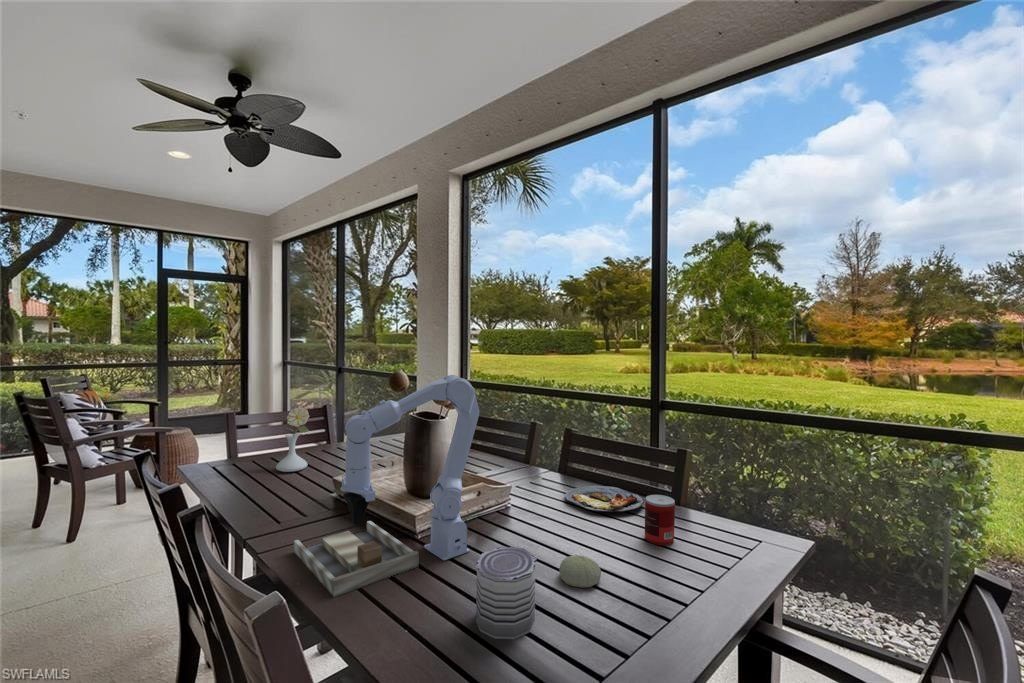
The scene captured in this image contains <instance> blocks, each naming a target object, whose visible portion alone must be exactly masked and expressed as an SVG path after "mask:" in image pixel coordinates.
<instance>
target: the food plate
mask: <svg viewBox="0 0 1024 683" xmlns="http://www.w3.org/2000/svg"><path fill="white" fill-rule="evenodd" d="M565 498H566V501H569V502H571V503H573V504H575V505H577V506H580V507H583V509H587V510H591V511H593V512H599V513H602V512H603V513H624V512H628V511H633V510H637V509H640V508H641V507H642V506H643V504H645V500H643V498H642V497H641V496H639V494H637V493H634V492H632V491H628V490H625V489H622V488H620V487H615V486H608V485H607V486H603V485H601V486H600V485H583V486H578V487H575V488H570V490H569V491H567V492H566V493H565Z"/></svg>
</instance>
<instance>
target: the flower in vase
mask: <svg viewBox="0 0 1024 683" xmlns="http://www.w3.org/2000/svg"><path fill="white" fill-rule="evenodd" d="M309 414H310V413H309V410H308V409H306V408H304V407H300V406H299V407H297V408H296V407H294V409H291V410H290V412H288V415H286V420H287V423H288V425H289V426H292V427H293V426H294V427H295V428H297V429H296V430H295V431H294V430H293V429H291V428H288V427H286V426H285V428H286V429H287V430H290V431H292V432H294V433H289V434H285V435H284V436H285V438H286V440H287V442H288V452H287V455H286V456H285V457H283V458H282V459H281V460H280V461H279V462H278V463H277V464H276V466H275V469H276V470H277V471H279V472H284V473H287V472H288V473H291V472H298V471H301V470H304V469H305V468H306V467H307V466H308V462H307V461H306V460H305V459H304V458H303V457H301V456H299V455H298V454H297V453H296V444H297V443H296V442H297V439H298V438H299V436H300V434H298V433H297V431H298V432H300V433H301V434H302V433H303V434H304V433H307V432H309V431H310V430H309V429H308V428H307V427H306V426H305V425H306V423H307V421H309V418H310V415H309Z"/></svg>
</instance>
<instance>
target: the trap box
mask: <svg viewBox="0 0 1024 683" xmlns="http://www.w3.org/2000/svg"><path fill="white" fill-rule="evenodd" d="M372 541H375V542H376V543H377V544H379V545H380V546H381V547H382V562H381V563H378V564H375V565H372V566H369V567H366V568H362V567H361V566H360V565H359V564H358V563H357V550H358V546H359V545H362V544H366V543H369V542H372ZM293 553H294V554H295V556H296V555H297V556H298V557H299V558H300V559H301V560H300V559H299V558H298V557H297V556H296V557H297V558H298V559H299V560H300V561H301V562H302V564H304V566H305V565H306V566H305V567H306V568H307V569H308V570H309V572H311V574H314V575H313V576H314V577H315V578H316V579H317V581H318V582H319V583H320V584H321V583H322V584H321V585H322V586H323V587H324V588H325V589H326V590H327V591H328V593H330V595H331V596H332V598H335V597H339V596H341V595H344V594H347V593H350V592H353V591H355V589H356V590H358V589H361V588H364V587H367V586H369V585H368V584H370V585H372V584H375V583H377V581H378V582H380V580H381V581H384V580H387V579H389V578H392V577H394V576H393V575H395V576H397V575H396V574H398V575H400V574H399V573H401V572H403V573H406V572H408V570H409V571H411V570H410V569H412V570H414V569H413V568H415V569H417V568H419V563H420V562H419V561H420V560H419V557H420V556H419V555H420V554H419V551H417V550H415V551H414V550H413V549H412V548H410V547H409V546H407V545H406V544H404V542H402V541H400V540H399V539H397V538H396V537H394V536H393V535H391V533H389V532H387V531H386V530H384V529H383V528H382V527H380V526H379V525H377V524H375V523H374V522H373V521H372V520H367V521H366V531H362V532H358V533H357V532H356V533H355V534H353V533H352V532H351V531H349V530H345V531H344V532H339V533H335V534H331V535H329V536H328V535H327V536H324V537H321V543H318V544H314V545H311V546H308V547H306V545H304V544H303V543H302V542H301V541H300V540H299V539H295V540H293ZM416 567H417V568H416ZM405 571H406V572H405ZM401 574H402V573H401ZM391 576H392V577H391ZM383 579H384V580H383ZM374 582H375V583H374ZM371 583H372V584H371ZM366 585H367V586H366ZM363 586H364V587H363Z"/></svg>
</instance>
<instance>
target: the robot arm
mask: <svg viewBox="0 0 1024 683" xmlns="http://www.w3.org/2000/svg"><path fill="white" fill-rule="evenodd" d="M447 400H448V401H449V403H451V404H452V406H453V407H454V409H455V411H456V412H457V414H458V415H457V419H456V423H455V426H454V430H453V433H452V436H451V442H450V444H449V448H448V452H447V456H446V457H445V458H446V459H445V463H444V466H443V470H442V473H441V474H440V476H439V477H438V478H437V482H436V484H435V485H434V486H433V488H432V489H431V491H430V492H431V493H430V500H431V502H432V503H433V504H434V508H433V510H432V511H431V512H430V543H428V544H427V543H426V544H423V548H424V549H425V550H427V551H428V552H430V553H431V554H433V555H434V556H436V557H438V558H439V559H440V560H442V561H446V560H447V561H448V560H450V559H452V558H455V557H457V556H461V555H464V554H466V553H469V552H470V548H468V526H467V524H466V523H465V522H464V521H463V519H462V518H461V515H460V514H461V513H460V512H461V510H462V507H463V502H462V494H463V485H462V484H463V483H462V479H463V475H464V472H465V468H466V464H467V462H468V456H469V453H470V450H471V446H472V443H473V439H474V435H475V431H476V428H477V425H478V420H479V417H480V408H479V404H478V401H477V396H476V389H475V388H474V387H473V386H472V384H471V382H470V381H469V380H467V379H466V378H463V377H459V376H457V375H454V374H450V375H447V376H445V377H444V378H439V379H436V380H435V381H432V382H431V383H428V384H427V385H425V386H423V387H422V388H419V389H418V390H416V391H414V392H411V394H409V395H407V396H405V397H403V398H401V399H399V400H397V401H395V400H392V399H388V400H387V401H386V400H385V399H382V400H380V401H379V404H378V405H376V406H373V407H372V408H370V409H368V410H361V412H360V414H356V415H352V416H351V417H349V419H348V420H347V421H346V424H345V426H344V430H345V434H346V442H345V443H346V444H345V445H346V448H345V475H344V476H345V477H342V479H341V487H339V488H340V491H342V492H343V495H342V496H343V498H344V500H345V502H346V504H347V507H348V510H349V513H350V514H349V515H350V519H351V520H350V521H351V522H352V524H353V525H355V526H356V525H360V524H363V523H364V519H365V515H366V512H367V508H368V507H369V504H370V502H373V501H376V491H375V490H374V488H373V485H372V483H371V476H372V475H371V474H372V473H371V472H372V471H371V470H372V468H371V465H372V461H371V460H372V458H371V457H372V456H371V455H372V446H371V437H372V435H373V434H376V433H379V432H380V431H382V430H385V429H386V428H388V427H391V426H392V425H394V424H396V423H398V422H399V421H401V420H402V417H403V415H404V414H406V413H407V412H409V411H411V410H413V409H415V408H417V407H420V406H422V405H424V404H427V403H429V402H431V401H442V402H443V401H444V402H447ZM345 492H346V493H345Z"/></svg>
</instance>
